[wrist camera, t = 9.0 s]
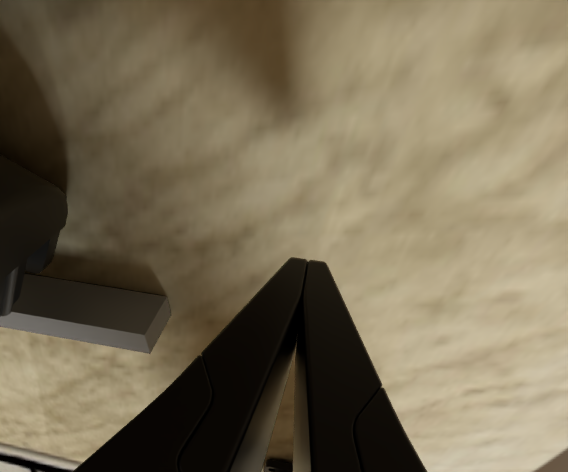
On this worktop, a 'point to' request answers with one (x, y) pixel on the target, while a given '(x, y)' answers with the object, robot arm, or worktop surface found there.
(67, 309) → the frame
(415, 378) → the worktop surface
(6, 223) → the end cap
